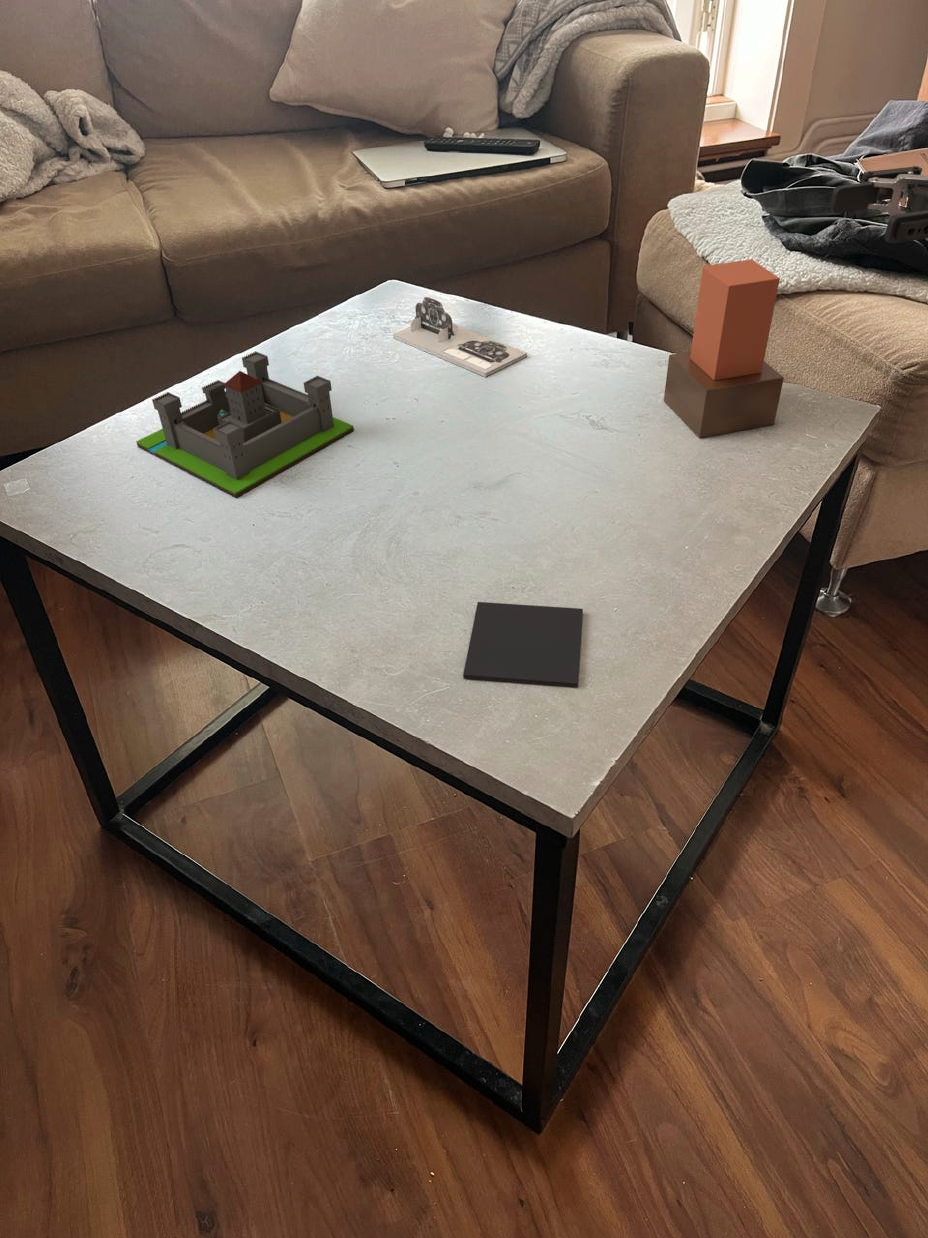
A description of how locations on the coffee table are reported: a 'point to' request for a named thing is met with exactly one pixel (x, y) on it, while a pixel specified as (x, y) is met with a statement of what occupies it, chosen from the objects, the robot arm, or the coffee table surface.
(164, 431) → the castle model
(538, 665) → the felt mat
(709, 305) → the top block
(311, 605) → the coffee table surface
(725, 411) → the base block
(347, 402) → the coffee table surface
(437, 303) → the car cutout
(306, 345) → the coffee table surface
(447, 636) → the coffee table surface
